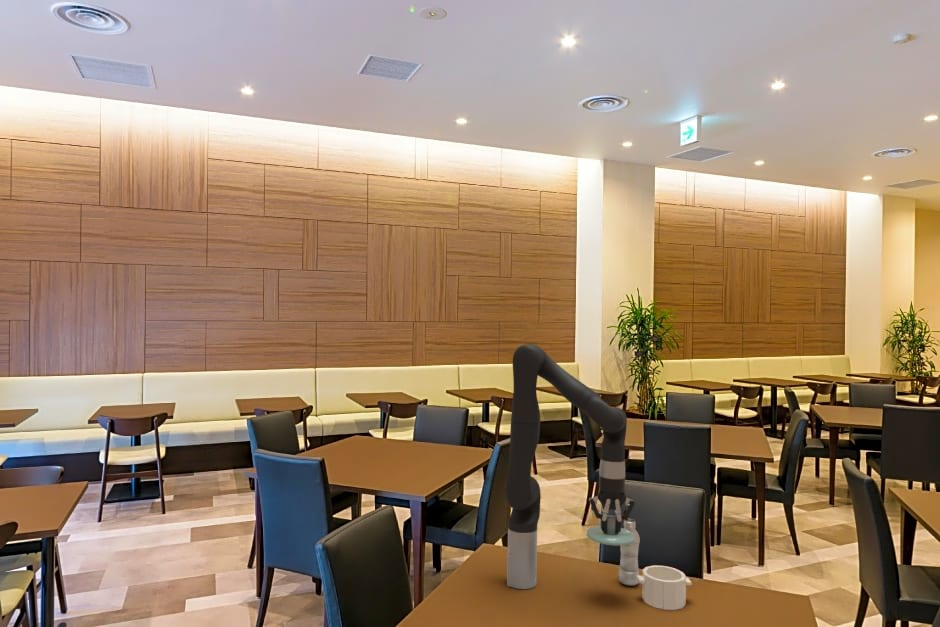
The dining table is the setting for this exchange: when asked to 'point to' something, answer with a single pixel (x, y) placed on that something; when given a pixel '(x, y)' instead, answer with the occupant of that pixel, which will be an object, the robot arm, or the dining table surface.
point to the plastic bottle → (629, 557)
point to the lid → (610, 534)
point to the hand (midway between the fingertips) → (610, 532)
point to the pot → (664, 587)
